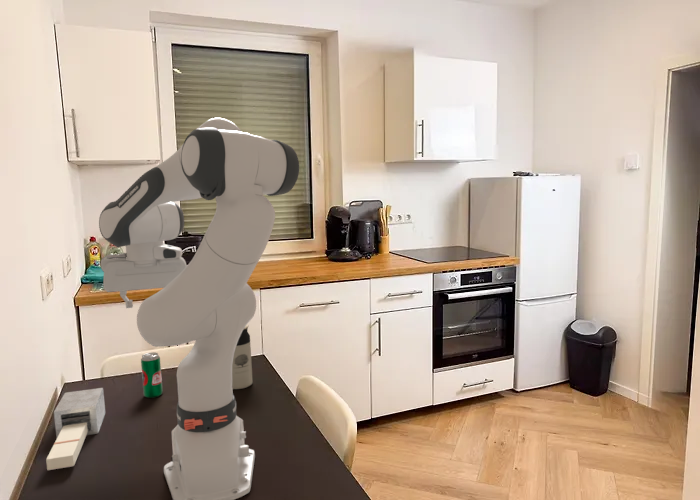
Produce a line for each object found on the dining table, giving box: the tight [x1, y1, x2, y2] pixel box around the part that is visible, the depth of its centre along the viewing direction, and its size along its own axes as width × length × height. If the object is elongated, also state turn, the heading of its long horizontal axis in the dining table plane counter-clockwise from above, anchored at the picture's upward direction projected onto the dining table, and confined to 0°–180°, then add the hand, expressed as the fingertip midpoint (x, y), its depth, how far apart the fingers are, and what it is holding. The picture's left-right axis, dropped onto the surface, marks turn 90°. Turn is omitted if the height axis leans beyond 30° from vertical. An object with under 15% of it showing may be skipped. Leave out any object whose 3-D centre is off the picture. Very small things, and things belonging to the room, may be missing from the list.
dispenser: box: [53, 387, 106, 438], centre depth 131 cm, size 12×9×7 cm
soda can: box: [140, 351, 163, 399], centre depth 148 cm, size 5×5×12 cm
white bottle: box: [232, 323, 253, 390], centre depth 154 cm, size 8×8×18 cm
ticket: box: [45, 422, 88, 471], centre depth 116 cm, size 16×5×2 cm, turn 17°
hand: (149, 305), depth 133 cm, fingers open, 8 cm apart
